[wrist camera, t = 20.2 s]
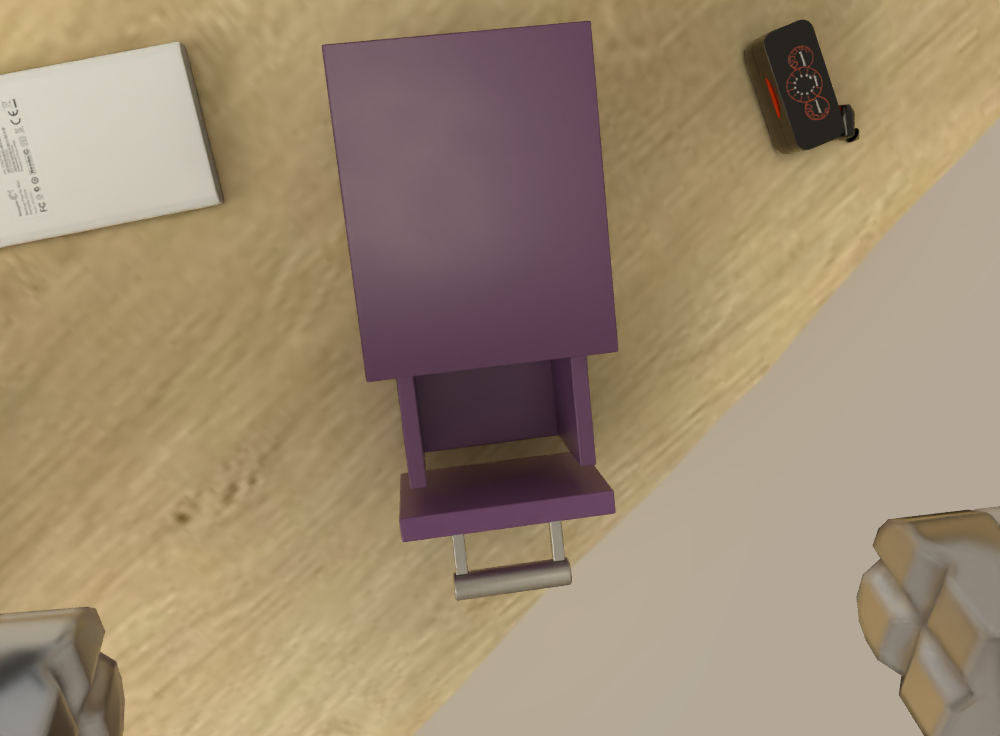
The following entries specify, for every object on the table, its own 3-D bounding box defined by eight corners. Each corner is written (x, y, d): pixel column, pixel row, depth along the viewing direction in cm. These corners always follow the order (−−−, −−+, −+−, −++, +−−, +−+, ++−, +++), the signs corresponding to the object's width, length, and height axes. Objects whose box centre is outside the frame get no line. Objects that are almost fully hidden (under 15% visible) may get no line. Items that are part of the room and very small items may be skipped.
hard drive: (225, 204, 47) (-11, 250, 47) (186, 45, 46) (-59, 91, 45) (219, 203, 46) (-26, 251, 45) (177, 39, 44) (-77, 86, 44)
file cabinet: (579, 327, 50) (618, 351, 41) (374, 352, 50) (366, 382, 40) (555, 60, 48) (591, 20, 39) (339, 80, 47) (321, 44, 38)
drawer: (591, 541, 52) (623, 596, 44) (412, 566, 51) (413, 627, 43) (562, 232, 49) (591, 234, 41) (372, 253, 48) (365, 259, 40)
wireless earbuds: (779, 171, 50) (804, 168, 47) (737, 48, 49) (760, 36, 46) (854, 139, 50) (884, 134, 47) (814, 16, 49) (842, 1, 46)
